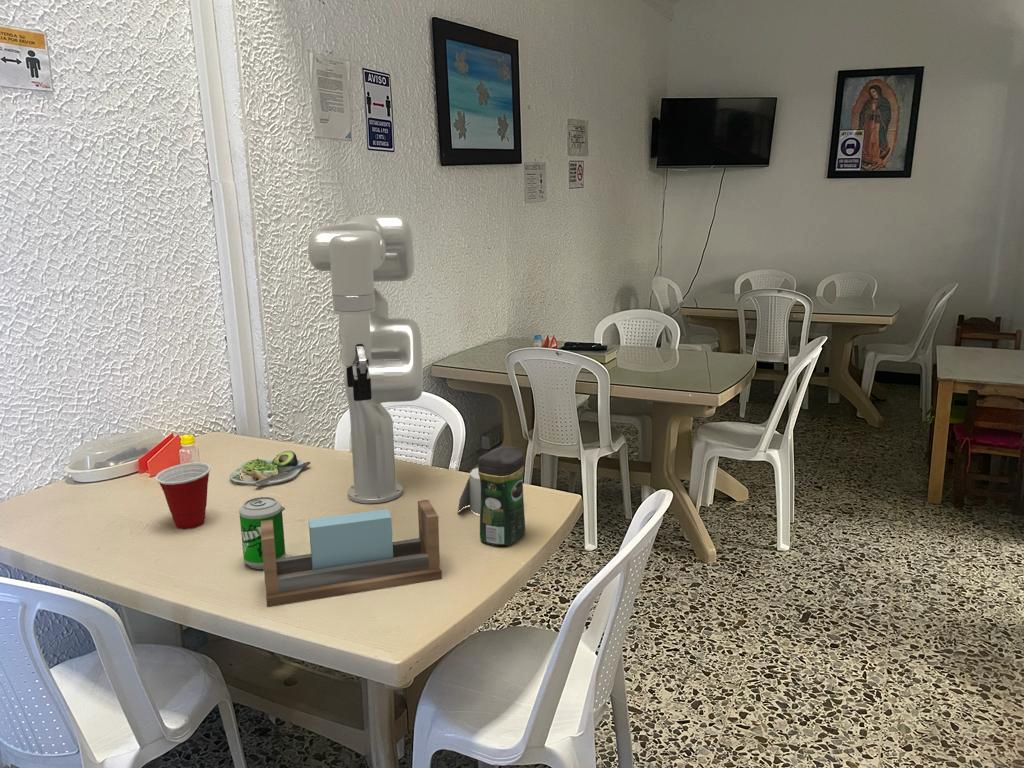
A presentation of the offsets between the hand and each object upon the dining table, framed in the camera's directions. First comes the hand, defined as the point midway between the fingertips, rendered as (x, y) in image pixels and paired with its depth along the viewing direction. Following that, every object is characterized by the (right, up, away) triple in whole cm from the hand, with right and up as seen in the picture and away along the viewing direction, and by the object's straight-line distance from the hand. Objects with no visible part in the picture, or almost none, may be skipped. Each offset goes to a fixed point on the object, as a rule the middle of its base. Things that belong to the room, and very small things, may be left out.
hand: (359, 392), depth 144 cm
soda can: (-18, -32, 0) cm, 37 cm away
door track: (0, -33, -7) cm, 34 cm away
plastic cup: (-40, -28, +17) cm, 52 cm away
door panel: (0, -32, -7) cm, 33 cm away
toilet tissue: (+23, -26, +23) cm, 42 cm away
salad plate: (-32, -21, +48) cm, 61 cm away
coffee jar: (+27, -30, +10) cm, 41 cm away
